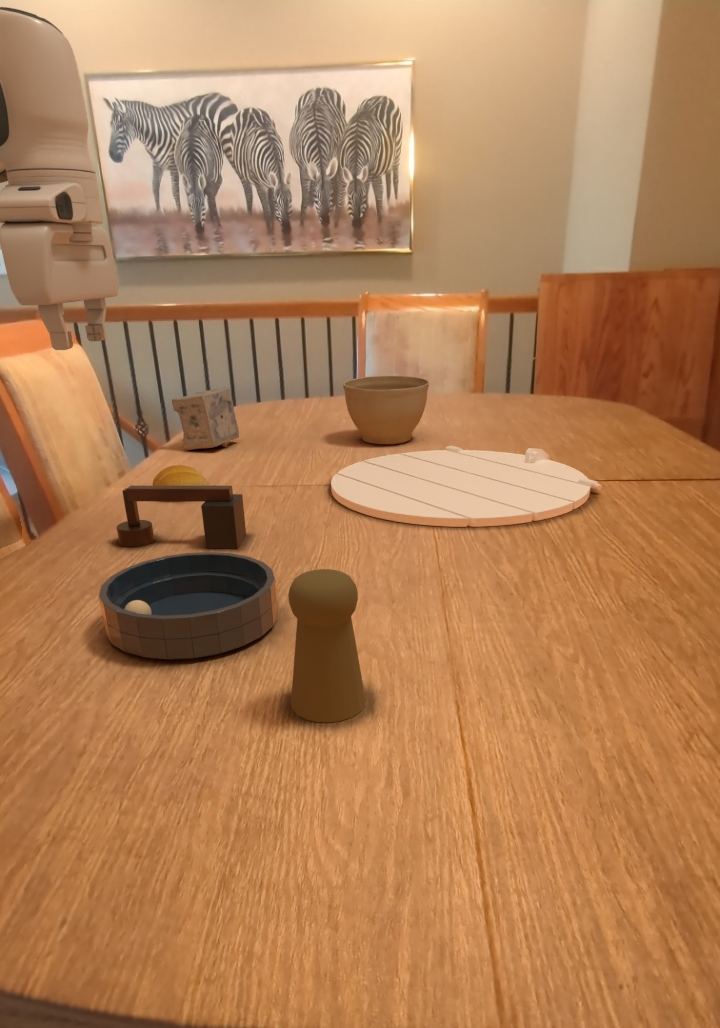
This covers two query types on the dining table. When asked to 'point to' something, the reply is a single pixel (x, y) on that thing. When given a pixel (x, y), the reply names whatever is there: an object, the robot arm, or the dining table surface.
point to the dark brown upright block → (224, 523)
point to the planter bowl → (386, 406)
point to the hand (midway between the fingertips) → (81, 345)
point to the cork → (325, 647)
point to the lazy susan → (462, 487)
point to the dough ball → (138, 607)
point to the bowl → (190, 605)
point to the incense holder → (207, 418)
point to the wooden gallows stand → (142, 530)
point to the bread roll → (179, 477)
